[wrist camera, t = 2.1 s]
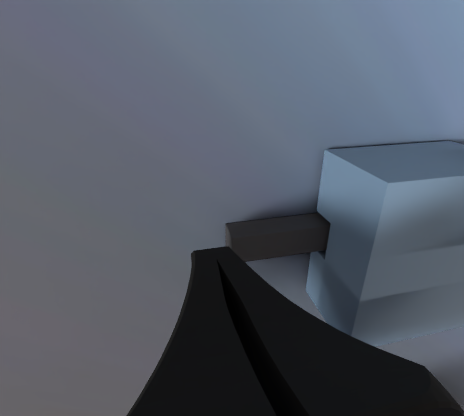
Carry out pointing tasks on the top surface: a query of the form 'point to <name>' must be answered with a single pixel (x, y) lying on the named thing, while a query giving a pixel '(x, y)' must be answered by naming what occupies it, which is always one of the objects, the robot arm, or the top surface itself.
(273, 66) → the top surface
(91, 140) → the top surface
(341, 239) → the pale blue notched block
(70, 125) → the top surface
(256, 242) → the dark grey bar
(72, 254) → the top surface
